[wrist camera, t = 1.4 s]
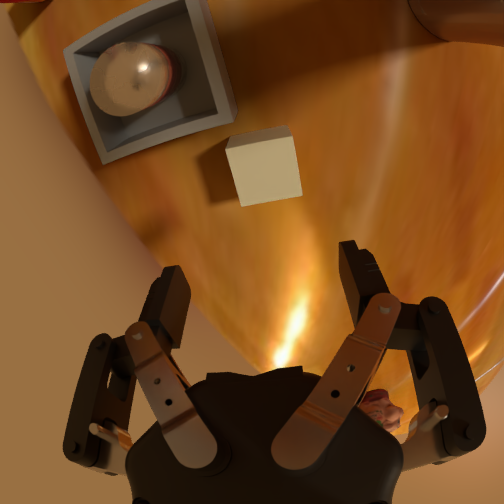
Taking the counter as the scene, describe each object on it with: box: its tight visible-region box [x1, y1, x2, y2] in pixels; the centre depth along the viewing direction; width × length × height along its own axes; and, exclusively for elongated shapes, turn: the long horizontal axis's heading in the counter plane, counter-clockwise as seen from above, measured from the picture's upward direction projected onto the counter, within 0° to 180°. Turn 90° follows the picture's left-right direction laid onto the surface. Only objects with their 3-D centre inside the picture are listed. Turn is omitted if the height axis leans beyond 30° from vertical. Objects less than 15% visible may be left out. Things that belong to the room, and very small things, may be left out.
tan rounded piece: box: [90, 42, 187, 116], centre depth 18 cm, size 6×6×8 cm
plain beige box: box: [225, 125, 303, 207], centre depth 26 cm, size 6×6×5 cm
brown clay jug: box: [359, 389, 404, 433], centre depth 64 cm, size 20×12×14 cm, turn 119°
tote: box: [63, 0, 238, 165], centre depth 20 cm, size 13×13×6 cm
